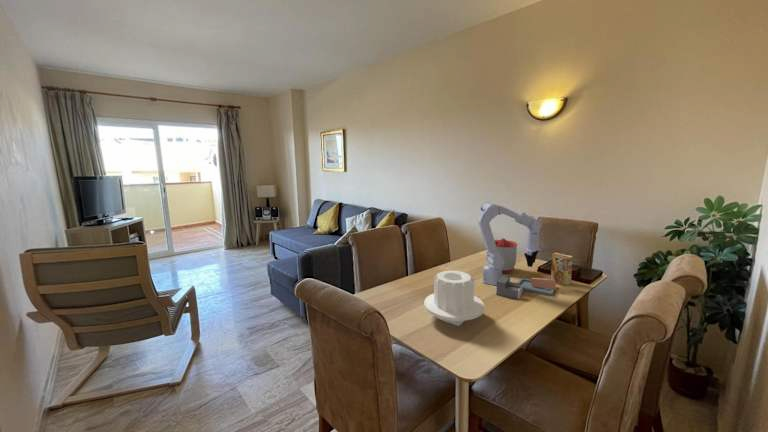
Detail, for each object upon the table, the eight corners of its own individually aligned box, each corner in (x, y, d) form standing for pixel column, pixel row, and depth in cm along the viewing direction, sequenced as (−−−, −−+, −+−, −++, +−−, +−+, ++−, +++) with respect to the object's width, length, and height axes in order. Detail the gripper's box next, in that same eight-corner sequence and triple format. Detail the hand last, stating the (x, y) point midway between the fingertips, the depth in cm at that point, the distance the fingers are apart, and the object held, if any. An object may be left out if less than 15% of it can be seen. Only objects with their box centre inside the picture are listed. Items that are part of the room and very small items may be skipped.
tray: (515, 289, 162) (515, 286, 161) (520, 280, 172) (520, 278, 172) (552, 296, 152) (552, 293, 152) (555, 286, 163) (555, 284, 162)
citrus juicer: (490, 263, 200) (491, 233, 196) (519, 268, 190) (520, 236, 186) (482, 271, 188) (483, 239, 184) (512, 277, 178) (513, 243, 174)
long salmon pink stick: (531, 286, 162) (530, 278, 162) (531, 286, 163) (531, 277, 163) (555, 289, 156) (554, 280, 156) (555, 288, 157) (555, 279, 157)
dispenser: (496, 294, 156) (496, 281, 155) (501, 287, 164) (502, 274, 163) (518, 299, 150) (519, 285, 149) (522, 291, 158) (523, 278, 157)
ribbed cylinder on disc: (441, 299, 152) (442, 262, 149) (492, 314, 137) (494, 273, 133) (413, 321, 133) (412, 279, 130) (468, 341, 118) (469, 294, 114)
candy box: (571, 283, 166) (573, 256, 163) (566, 285, 164) (569, 257, 161) (554, 278, 173) (556, 252, 171) (550, 280, 171) (552, 253, 168)
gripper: (538, 244, 159) (537, 269, 162) (542, 238, 171) (541, 261, 173) (523, 242, 163) (522, 267, 166) (528, 236, 175) (527, 259, 177)
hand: (531, 264), depth 170 cm, fingers open, 7 cm apart
